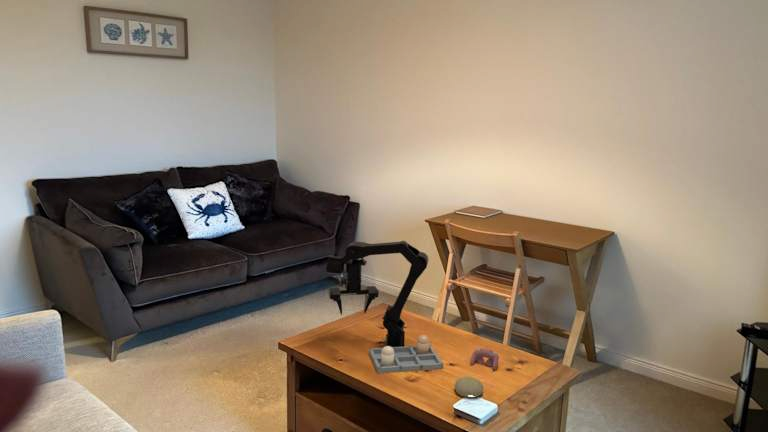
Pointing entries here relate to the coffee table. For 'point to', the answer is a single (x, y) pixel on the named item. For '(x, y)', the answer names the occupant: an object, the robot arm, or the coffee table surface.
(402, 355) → the grey compartment tray
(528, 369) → the coffee table surface
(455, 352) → the coffee table surface
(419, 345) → the beige rounded cylinder
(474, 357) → the video game controller
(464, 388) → the sea urchin shell
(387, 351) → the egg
